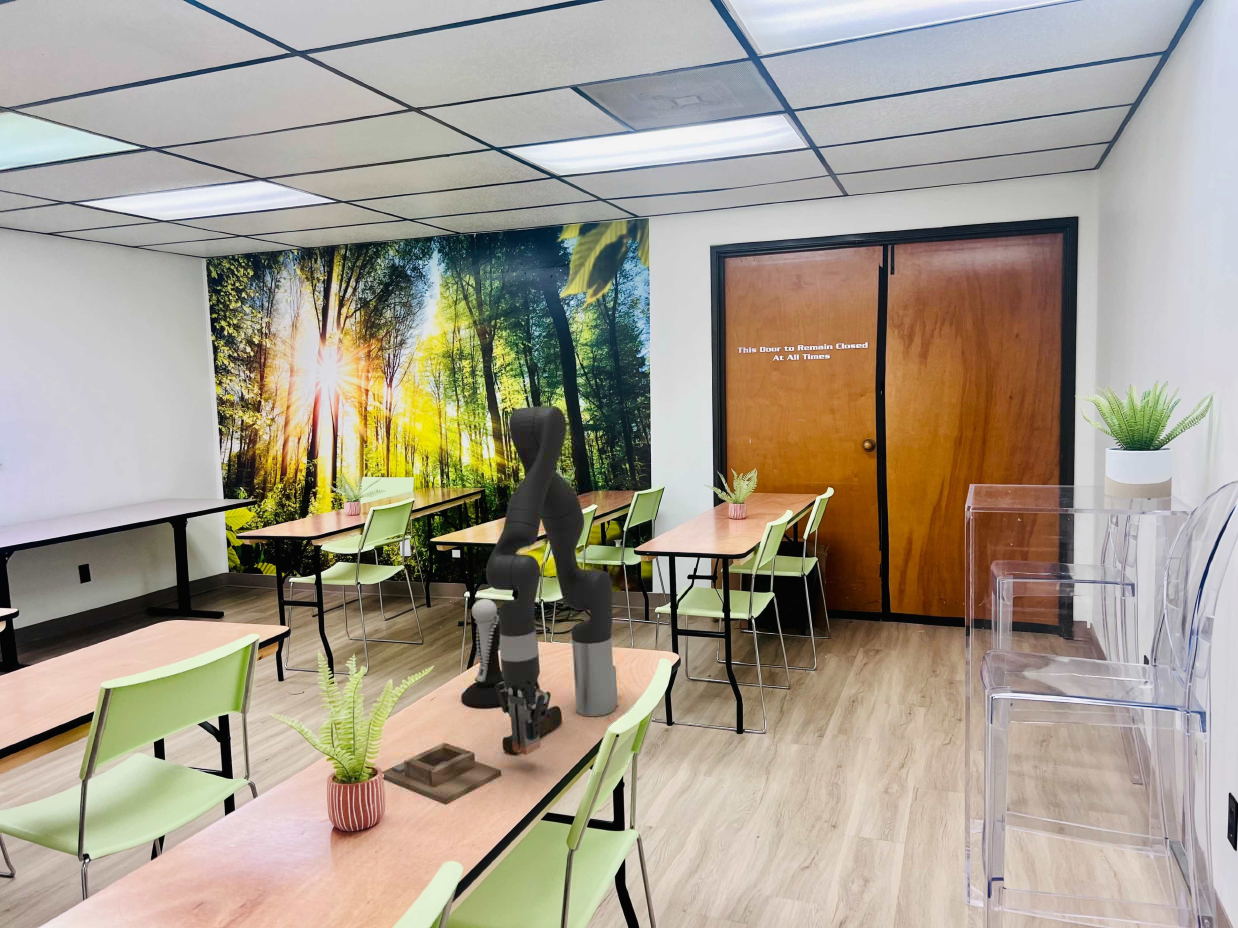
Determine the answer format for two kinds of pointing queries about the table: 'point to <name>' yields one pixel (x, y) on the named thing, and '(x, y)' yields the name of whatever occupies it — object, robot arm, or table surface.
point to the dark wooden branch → (545, 725)
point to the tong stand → (442, 773)
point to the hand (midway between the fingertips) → (525, 735)
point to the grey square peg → (521, 727)
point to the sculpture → (485, 658)
